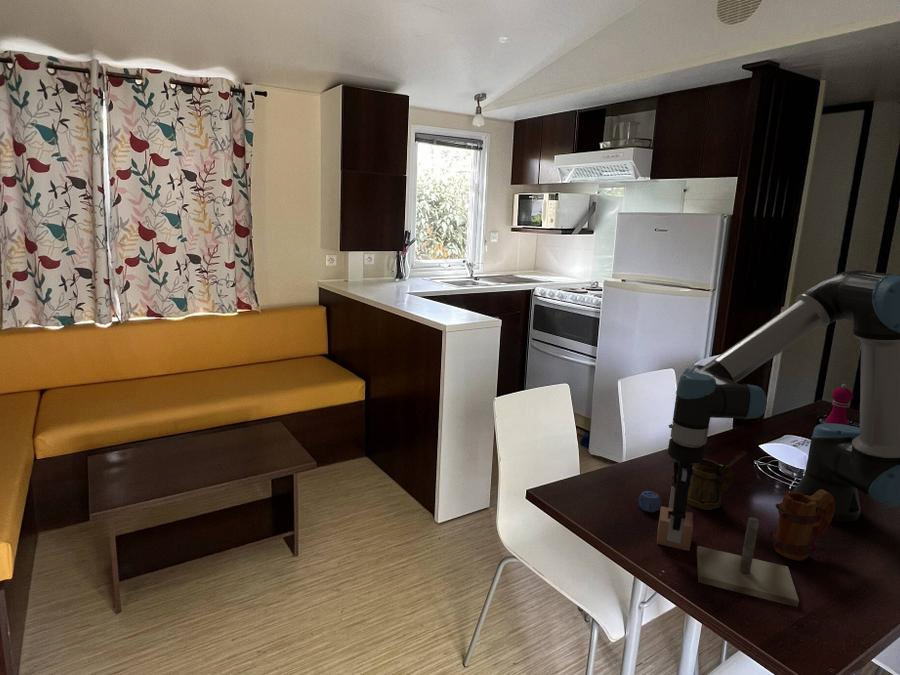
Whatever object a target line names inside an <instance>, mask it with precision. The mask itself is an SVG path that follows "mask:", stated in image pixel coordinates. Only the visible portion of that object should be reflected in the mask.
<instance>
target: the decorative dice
mask: <svg viewBox="0 0 900 675" xmlns="http://www.w3.org/2000/svg"><path fill="white" fill-rule="evenodd" d="M638 505H639V508H641V510H643V511H644V512H647V513H655V512H657V511H658V510H660V509H661V505H662V501H661V498H660V495H659V494H658V493H656V492H654V491H652V490H651V491H650V490H645V491H642V493H640V494H639V496H638Z"/></svg>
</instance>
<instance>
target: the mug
mask: <svg viewBox="0 0 900 675" xmlns="http://www.w3.org/2000/svg"><path fill="white" fill-rule="evenodd" d="M793 492H794V491H793ZM793 492H791V491H787V492H786V493H784V495H783V497H782V502H780V503H776V504H775V508H776V509H777V512H778V514H779V516H778V523H777V527H776V530H774V531H770V532H769V536H770V538H771V540H772V543H773V549H774V551H775V552H776V553H777V554H779V555H781V556H782V557H784V558H787V559H789V560H792V561H804V560H806V559H807V558H808V557H809V555H810V554H811V553H812V552H815V551H816V550H817V547H816V545H814V540H813V539H812V537H813V536H815V537H816V538H820V537H822V535H823V534H824V533H825V532H826V530H827V529H828V528H829V526H830V524H831V523H832V521H833V520H832V518H833V515H834V512H835V501H834V498H833V496H832V494H830V493H829V492H827V491H825V490H823V489H820V490H818V491H817V492H816V493H815V494H813V495H812V496H808V495H806V496H805V495H803V494H802V493H799V492H794V493H793ZM816 507H819V509H818V512H817V511H816Z"/></svg>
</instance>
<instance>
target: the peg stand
mask: <svg viewBox="0 0 900 675" xmlns="http://www.w3.org/2000/svg"><path fill="white" fill-rule="evenodd" d="M759 524H760V519H758V518H756V517H752V516H749V517H748V518H747V524H746V530H745V535H744V543H743V547H742V552H741V555H739V554H735V553H731V552H726V551H722V550H716V549H713V548H709V547H704V546H699V545H697V546H696V563H697V577H698V578H697V579H698V580H697V581H698V583H700V584H703V585H706V586H707V585H708V586H712V587H715V588H719V589H724V590H728V591H731V592H735V593H740V594H743V595H746V596H751V597H755V598H758V599H763V600H767V601H771V602H776V603H780V604H782V605H787V606H791V607H795V608H798V607H799V602H800V600H799V596H798V594H797V593H798V592H797V590H796V587H795V584H794V581H793V579H792V578H793V577H792V575H791V572H790V568H789V566H787V565H782V564H778V563H774V562H769V561H765V560H760V559H757V558H753V557H754V552H755V547H756V542H757V536H758V530H759Z"/></svg>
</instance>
